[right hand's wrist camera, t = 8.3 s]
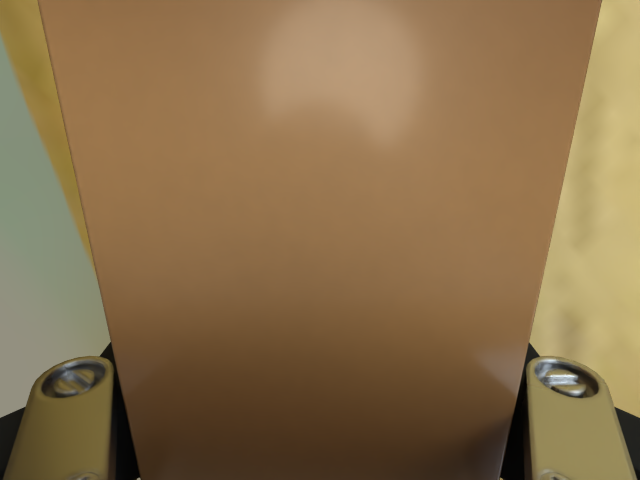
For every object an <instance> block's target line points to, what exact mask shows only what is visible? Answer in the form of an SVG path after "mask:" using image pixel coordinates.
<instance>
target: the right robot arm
mask: <svg viewBox="0 0 640 480" xmlns="http://www.w3.org/2000/svg"><path fill="white" fill-rule="evenodd" d="M137 478H140V474H139V469H138V465H137V460H136V455H135V451H134V446H133V441H132V437H131V432H130V428H129V423H128V418H127V414H126V409H125V404H124V400H123V395H122V390H121V386H120V381H119V376H118V372H117V367H116V362H115V358H114V353H113V349H112V344H111V342H110V344H109V345H108V346H107V347H106V349H105V350H104V351H103V353H102V354H101V355H100V357H98V356H86V357H78V358H74V359H71V360H67V361H64V362H62V363H60V364H58V365H55V366H53V367H52V368H50V369H49V370H47V371H45V372H44V373H43V374H42V375H41V376H40V377H39V378H38V379H37V380H36V381H35V383H34V385H33V386H32V389H31V392H30V395H29V398H28V401H27V405H26V407H24V408H22V409H19V410H17V411H15V412H13V413H10V414H8V415H6V416H4V417H1V418H0V480H137ZM500 478H502V479H503V480H640V418H638V417H636V416H634V415H632V414H629V413H627V412H625V411H623V410H620V409H618V408H616V407H614V404H613V401H612V398H611V395H610V392H609V389H608V386H607V385H606V383H605V381H604V380H603V379H602V378H601V377H600V376H599V375H598V374H597V373H596V372H595V371H593V370H591V369H590V368H588V367H587V366H585V365H582V364H580V363H578V362H576V361H573V360H569V359H566V358H562V357H554V356H542V357H540V356H539V354H538V353H537V352H536V351H535V349H534V348H533V347H532V345H531V344H530V343H529V344H528V349H527V353H526V358H525V363H524V367H523V372H522V377H521V382H520V386H519V391H518V396H517V400H516V405H515V410H514V414H513V419H512V424H511V428H510V433H509V438H508V442H507V447H506V452H505V456H504V461H503V466H502V470H501V475H500Z"/></svg>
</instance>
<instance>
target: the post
mask: <svg viewBox="0 0 640 480" xmlns="http://www.w3.org/2000/svg"><path fill="white" fill-rule="evenodd" d="M601 3H602V0H38V5H39V9H40V14H41V19H42V23H43V28H44V33H45V37H46V42H47V47H48V51H49V56H50V60H51V65H52V70H53V74H54V79H55V84H56V88H57V93H58V98H59V102H60V107H61V112H62V116H63V121H64V126H65V130H66V135H67V139H68V144H69V149H70V153H71V158H72V163H73V167H74V172H75V177H76V181H77V186H78V191H79V195H80V200H81V205H82V209H83V214H84V218H85V223H86V228H87V232H88V237H89V242H90V246H91V251H92V256H93V260H94V265H95V270H96V274H97V279H98V284H99V288H100V293H101V297H102V302H103V307H104V311H105V316H106V321H107V325H108V330H109V334H110V339H111V344H112V349H113V353H114V358H115V362H116V367H117V372H118V376H119V381H120V386H121V390H122V395H123V400H124V404H125V409H126V414H127V418H128V423H129V428H130V432H131V437H132V441H133V446H134V451H135V455H136V460H137V465H138V469H139V474H140V479H141V480H500V475H501V470H502V466H503V461H504V456H505V452H506V447H507V442H508V438H509V433H510V428H511V424H512V419H513V414H514V410H515V405H516V400H517V396H518V391H519V386H520V382H521V377H522V372H523V367H524V363H525V358H526V353H527V349H528V344H529V339H530V335H531V330H532V325H533V321H534V316H535V311H536V307H537V302H538V297H539V293H540V288H541V283H542V279H543V274H544V269H545V265H546V260H547V255H548V251H549V246H550V241H551V236H552V232H553V227H554V222H555V218H556V213H557V208H558V204H559V199H560V194H561V190H562V185H563V180H564V176H565V171H566V166H567V162H568V157H569V152H570V148H571V143H572V138H573V134H574V129H575V124H576V120H577V115H578V110H579V106H580V101H581V96H582V91H583V87H584V82H585V77H586V73H587V68H588V63H589V59H590V54H591V49H592V45H593V40H594V35H595V31H596V26H597V21H598V17H599V12H600V7H601Z"/></svg>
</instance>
